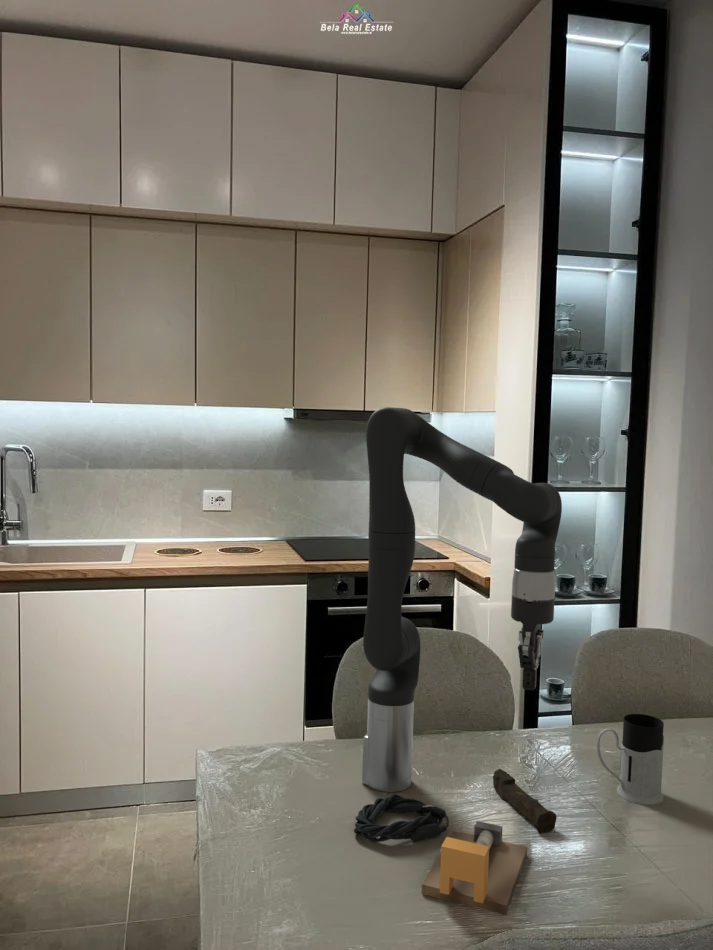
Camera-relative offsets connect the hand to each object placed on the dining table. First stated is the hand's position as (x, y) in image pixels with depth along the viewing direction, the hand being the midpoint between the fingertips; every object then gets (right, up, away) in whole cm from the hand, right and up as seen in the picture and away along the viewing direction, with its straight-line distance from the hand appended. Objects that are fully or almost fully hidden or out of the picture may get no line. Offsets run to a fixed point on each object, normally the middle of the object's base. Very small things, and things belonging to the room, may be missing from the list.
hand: (529, 688), depth 143 cm
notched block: (-15, -24, -24) cm, 37 cm away
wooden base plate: (-12, -26, -16) cm, 32 cm away
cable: (-24, -25, -1) cm, 35 cm away
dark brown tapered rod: (-1, -25, +7) cm, 26 cm away
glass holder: (+22, -25, +14) cm, 36 cm away
